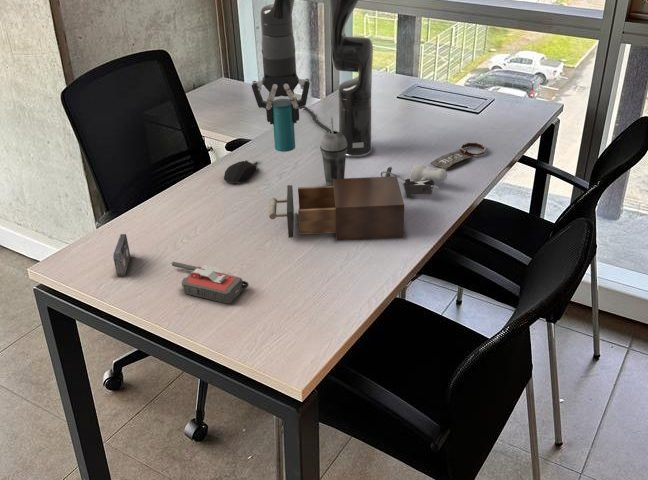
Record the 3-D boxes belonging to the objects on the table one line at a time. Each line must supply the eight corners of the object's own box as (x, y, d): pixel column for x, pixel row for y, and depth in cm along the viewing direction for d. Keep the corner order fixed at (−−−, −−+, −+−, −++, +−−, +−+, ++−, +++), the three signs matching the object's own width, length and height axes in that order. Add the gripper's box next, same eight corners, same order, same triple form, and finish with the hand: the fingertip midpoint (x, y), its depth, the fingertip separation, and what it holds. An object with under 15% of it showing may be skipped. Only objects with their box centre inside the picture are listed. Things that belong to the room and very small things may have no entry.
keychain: (426, 163, 205) (426, 157, 204) (470, 144, 216) (471, 138, 215) (447, 172, 200) (447, 166, 199) (491, 152, 211) (492, 146, 210)
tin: (274, 152, 177) (270, 106, 170) (274, 143, 181) (271, 99, 175) (295, 151, 177) (293, 106, 171) (295, 142, 181) (293, 98, 175)
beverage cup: (352, 182, 197) (351, 111, 186) (343, 194, 191) (342, 122, 180) (326, 178, 199) (324, 109, 188) (317, 190, 193) (314, 119, 182)
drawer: (270, 238, 171) (267, 212, 167) (271, 210, 182) (269, 186, 179) (350, 235, 171) (350, 209, 168) (347, 207, 183) (346, 182, 179)
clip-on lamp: (373, 196, 196) (430, 200, 184) (368, 175, 193) (425, 178, 181) (397, 176, 203) (453, 179, 192) (392, 155, 200) (448, 157, 189)
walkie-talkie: (254, 284, 156) (175, 266, 163) (252, 267, 154) (172, 249, 161) (234, 307, 150) (152, 287, 157) (231, 289, 147) (149, 269, 154)
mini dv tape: (123, 256, 167) (119, 234, 164) (130, 256, 167) (125, 233, 164) (117, 276, 160) (112, 253, 157) (124, 276, 160) (119, 253, 157)
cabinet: (336, 240, 171) (335, 207, 166) (333, 210, 184) (332, 178, 179) (403, 237, 171) (404, 204, 167) (396, 207, 184) (396, 176, 179)
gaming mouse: (266, 165, 207) (265, 152, 205) (239, 187, 196) (238, 173, 194) (247, 161, 209) (246, 148, 207) (219, 183, 198) (217, 169, 196)
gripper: (309, 46, 170) (312, 115, 179) (248, 49, 169) (254, 118, 178) (310, 56, 163) (313, 127, 172) (246, 59, 163) (252, 130, 172)
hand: (283, 122), depth 175 cm, fingers closed on tin, 5 cm apart
